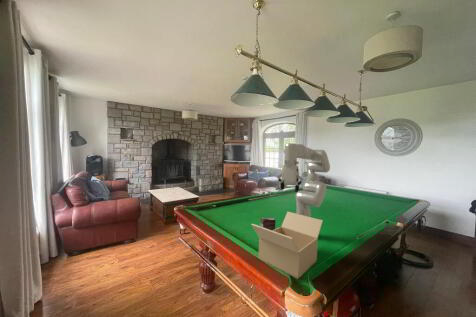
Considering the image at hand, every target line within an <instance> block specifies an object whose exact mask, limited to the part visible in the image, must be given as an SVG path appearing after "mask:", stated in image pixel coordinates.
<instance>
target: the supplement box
mask: <svg viewBox="0 0 476 317" xmlns="http://www.w3.org/2000/svg"><path fill="white" fill-rule="evenodd" d="M259 221H260V222H259V223H260V224H259V226H260V227H263V228H266V229H269V230H274V229H276V218H274V217H260V220H259Z"/></svg>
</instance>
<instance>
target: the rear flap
mask: <svg viewBox="0 0 476 317" xmlns="http://www.w3.org/2000/svg"><path fill="white" fill-rule="evenodd" d="M323 221H324V219H318V218H314V217H311V216H310V217H307V216H303V215H299V214H296V212H290V211H287V212H286V214H285V217H284V219H283V222H282V224H281V226H280V227H284V228H287V229H290V230H293V231H296V232H299V233H303V234H306V235H309V236H312V237H315V238H319V235H320V232H321V228H322V225H323Z"/></svg>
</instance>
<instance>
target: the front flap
mask: <svg viewBox="0 0 476 317" xmlns="http://www.w3.org/2000/svg"><path fill="white" fill-rule="evenodd" d="M250 225H251V227H252V228H253V230H254V231H255V233H256V234H257V236H258V238H259V237H260V238H262V239H265V240H267V241H270V242H272V243H275V244H277V245H279V246H282V247H284V248H287V249H289V250H292V251H294V252H297V253H298V249H297V247H296V245H295V243H294V241H293V239H292V237H289V236H286V235H283V234H280V233H277V232H275V231H272V230H269V229H266V228H263V227H260V225H257V224H256V223H255V224H254V223H251V224H250Z"/></svg>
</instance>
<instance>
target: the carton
mask: <svg viewBox="0 0 476 317" xmlns="http://www.w3.org/2000/svg"><path fill="white" fill-rule="evenodd" d="M272 231H275V232H277V233H280V234H283V235H286V236H289V237H292V239H293V241H294V243H295V245H296V247H297V249H298V253H297V252H294V251H292V250H289V249H287V248H284V247H282V246H279V245H277V244H275V243H272V242H270V241H267V240H265V239H262V238H260V237H259V236H258V238H259V239H258V257H257V258H258V260H259V259H260V260H259V261H262V262H263V263H265V264H266V265H269V264H270V265H269V266H271V267H273V268H275V267H276V269H277V268H278V269H277V270H279V269H280V270H279V271H281V272H283V273H284V274H286V273H287V275H289V276H291V277H293V278H294V279H296V280H299V279H300V278H301V277H302V276H303V275H304V274H306V272H307V271H308V270H309V269H310V268H311V267H312V266H313V265H315V263H317V260H318V238H319V237H318V238H315V237H312V236H309V235H306V234H303V233H299V232H296V231H293V230H290V229H287V228H284V227H281V226H280V227H279V226H278V227H277V228H275V229H274V230H272Z"/></svg>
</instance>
